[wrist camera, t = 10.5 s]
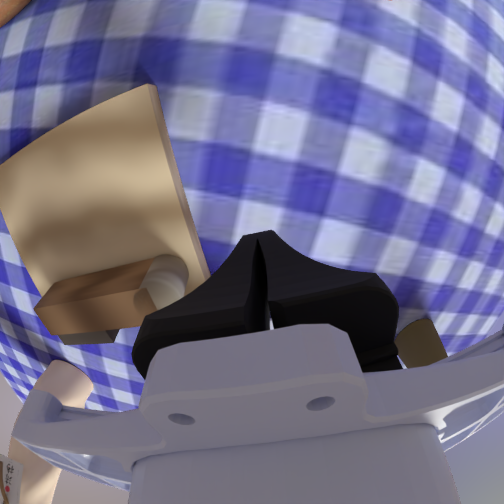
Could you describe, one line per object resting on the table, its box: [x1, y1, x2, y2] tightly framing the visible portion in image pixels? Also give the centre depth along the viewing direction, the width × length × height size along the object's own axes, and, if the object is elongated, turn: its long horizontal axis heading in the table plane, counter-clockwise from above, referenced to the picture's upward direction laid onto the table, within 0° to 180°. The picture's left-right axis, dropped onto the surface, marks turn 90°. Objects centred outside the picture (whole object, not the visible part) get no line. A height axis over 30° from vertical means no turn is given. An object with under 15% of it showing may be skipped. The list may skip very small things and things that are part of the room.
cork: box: [394, 319, 448, 368], centre depth 24 cm, size 6×6×11 cm
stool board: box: [0, 84, 211, 345], centre depth 18 cm, size 17×18×6 cm
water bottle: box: [0, 360, 93, 504], centre depth 19 cm, size 10×9×28 cm
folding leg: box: [34, 254, 189, 335], centre depth 19 cm, size 14×3×4 cm, turn 103°
